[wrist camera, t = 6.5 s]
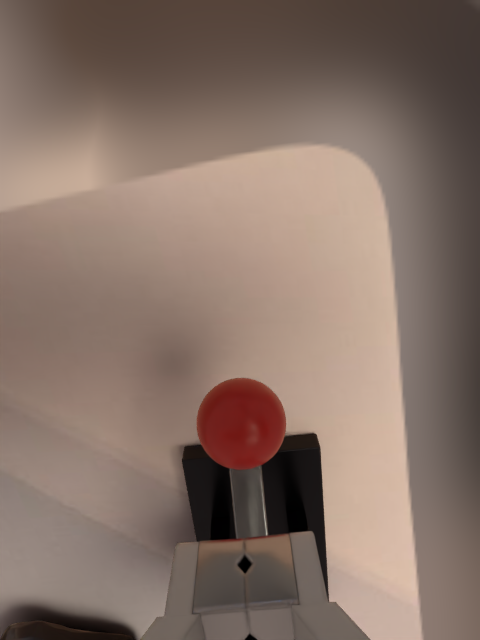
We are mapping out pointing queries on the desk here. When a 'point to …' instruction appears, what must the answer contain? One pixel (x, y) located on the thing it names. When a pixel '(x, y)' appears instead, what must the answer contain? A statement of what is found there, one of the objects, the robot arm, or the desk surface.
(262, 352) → the desk surface
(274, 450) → the lever
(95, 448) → the desk surface
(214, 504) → the bracket
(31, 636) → the black sponge
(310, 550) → the robot arm
